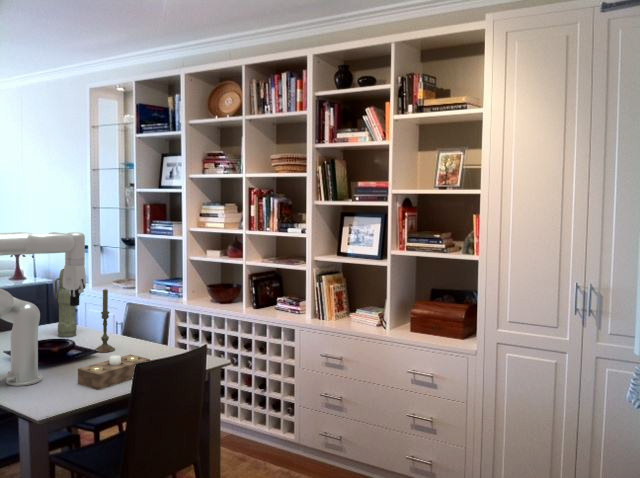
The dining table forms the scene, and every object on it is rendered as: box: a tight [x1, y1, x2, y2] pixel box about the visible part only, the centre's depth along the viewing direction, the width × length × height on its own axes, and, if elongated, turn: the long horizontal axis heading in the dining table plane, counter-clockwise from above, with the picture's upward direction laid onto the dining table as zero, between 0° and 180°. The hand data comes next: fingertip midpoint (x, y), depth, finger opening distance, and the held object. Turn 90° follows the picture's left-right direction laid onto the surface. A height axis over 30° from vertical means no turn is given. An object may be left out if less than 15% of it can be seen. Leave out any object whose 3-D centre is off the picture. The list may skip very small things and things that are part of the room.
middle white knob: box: [108, 354, 122, 366], centre depth 233 cm, size 4×4×6 cm
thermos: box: [54, 268, 78, 339], centre depth 297 cm, size 9×12×35 cm
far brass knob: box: [127, 355, 138, 361], centre depth 240 cm, size 4×4×6 cm
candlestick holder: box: [94, 288, 116, 354], centre depth 272 cm, size 9×9×30 cm
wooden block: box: [77, 353, 151, 391], centre depth 233 cm, size 26×12×6 cm, turn 150°
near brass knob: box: [91, 366, 103, 372], centre depth 225 cm, size 4×4×6 cm
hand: (74, 305), depth 240 cm, fingers closed
